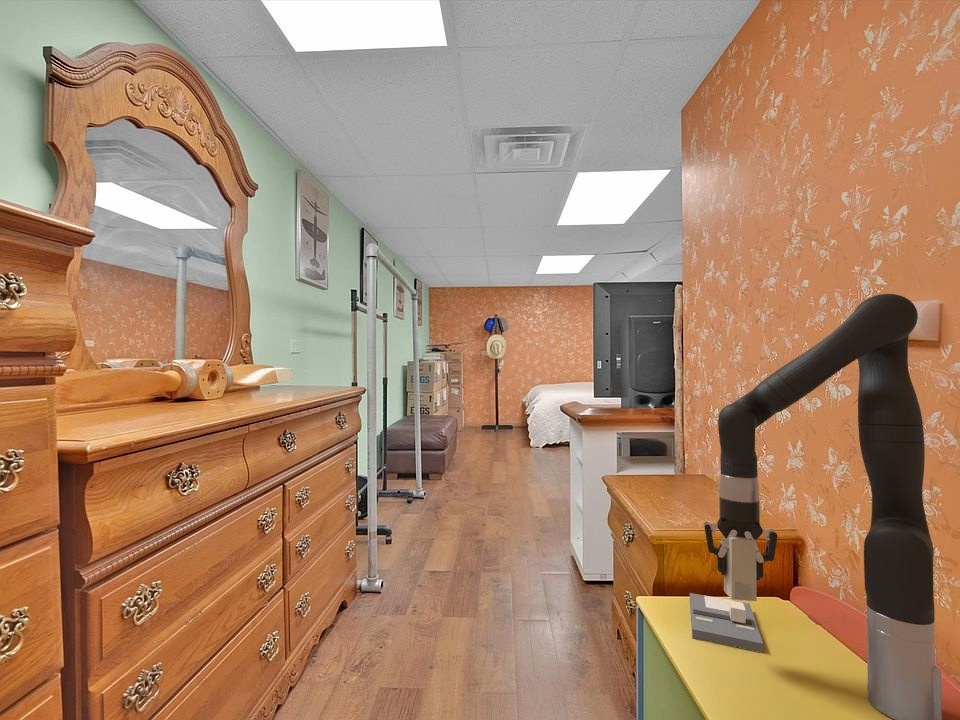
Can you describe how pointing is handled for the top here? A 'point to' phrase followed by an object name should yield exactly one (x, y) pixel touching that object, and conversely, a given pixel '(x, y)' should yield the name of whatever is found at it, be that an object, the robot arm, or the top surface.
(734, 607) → the tab
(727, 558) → the box
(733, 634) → the switch board
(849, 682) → the top surface
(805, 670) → the top surface
